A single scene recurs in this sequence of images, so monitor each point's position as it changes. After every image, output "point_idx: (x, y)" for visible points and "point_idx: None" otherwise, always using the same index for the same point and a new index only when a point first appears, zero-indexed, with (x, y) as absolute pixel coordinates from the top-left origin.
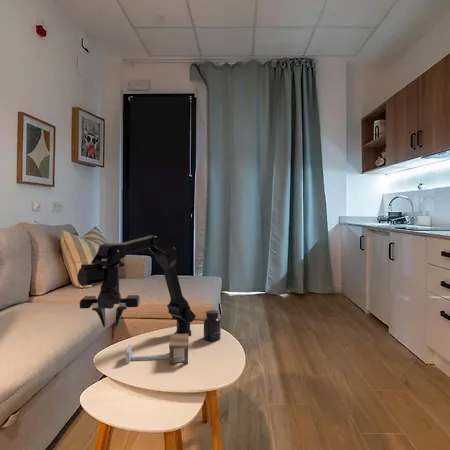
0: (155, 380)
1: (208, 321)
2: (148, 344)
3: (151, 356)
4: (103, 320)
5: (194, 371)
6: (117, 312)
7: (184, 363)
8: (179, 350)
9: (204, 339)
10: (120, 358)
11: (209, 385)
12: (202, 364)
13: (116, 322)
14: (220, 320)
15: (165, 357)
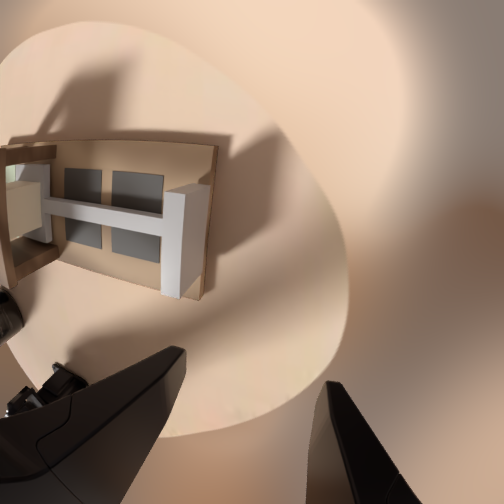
0: (109, 56)
1: None
2: None
3: (98, 209)
4: (345, 445)
5: (21, 121)
6: (33, 469)
7: (24, 146)
8: (7, 186)
9: (12, 312)
10: (247, 290)
11: (16, 49)
12: None
13: (155, 375)
14: None
15: (61, 200)
